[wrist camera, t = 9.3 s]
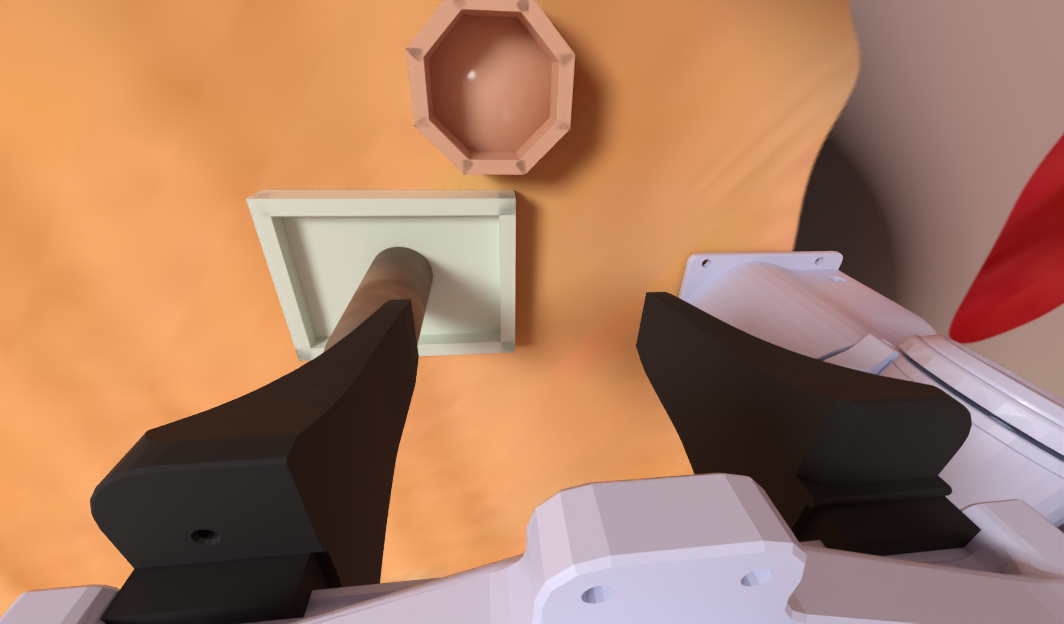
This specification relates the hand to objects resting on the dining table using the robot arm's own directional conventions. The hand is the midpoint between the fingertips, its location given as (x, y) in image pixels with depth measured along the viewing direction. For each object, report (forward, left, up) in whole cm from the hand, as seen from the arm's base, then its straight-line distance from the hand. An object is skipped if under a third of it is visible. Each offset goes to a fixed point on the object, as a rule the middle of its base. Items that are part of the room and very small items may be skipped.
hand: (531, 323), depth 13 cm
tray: (+6, +3, -10) cm, 12 cm away
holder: (+1, -6, -10) cm, 12 cm away
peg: (+6, +3, -10) cm, 12 cm away
